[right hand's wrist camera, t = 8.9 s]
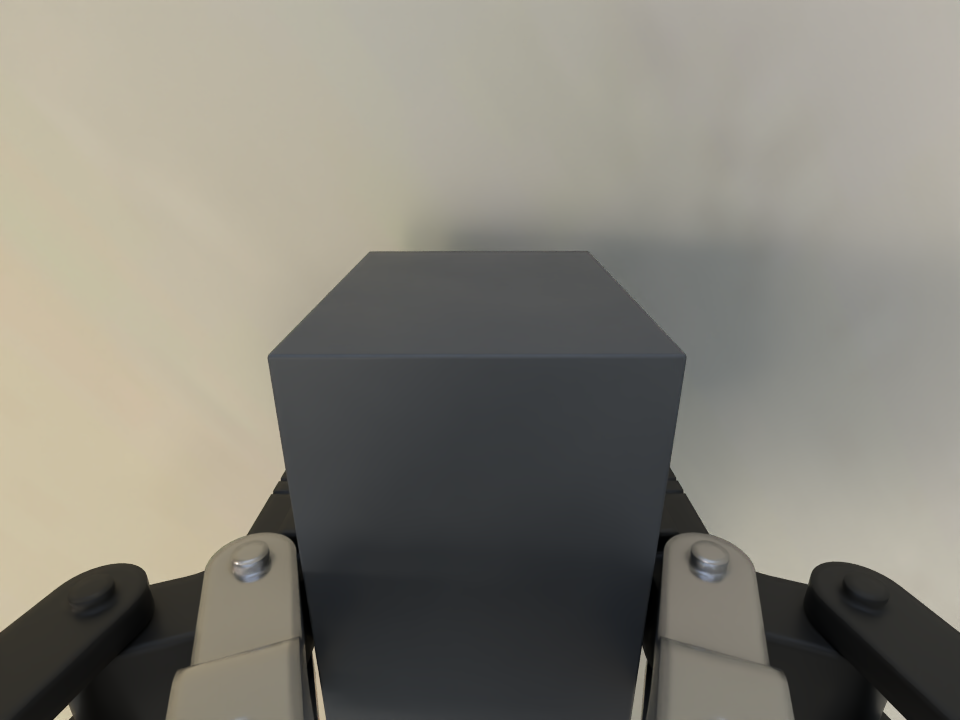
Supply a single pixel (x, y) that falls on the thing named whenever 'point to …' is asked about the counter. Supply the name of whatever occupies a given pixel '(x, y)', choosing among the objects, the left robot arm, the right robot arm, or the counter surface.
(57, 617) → the right robot arm
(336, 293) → the post
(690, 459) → the counter surface
